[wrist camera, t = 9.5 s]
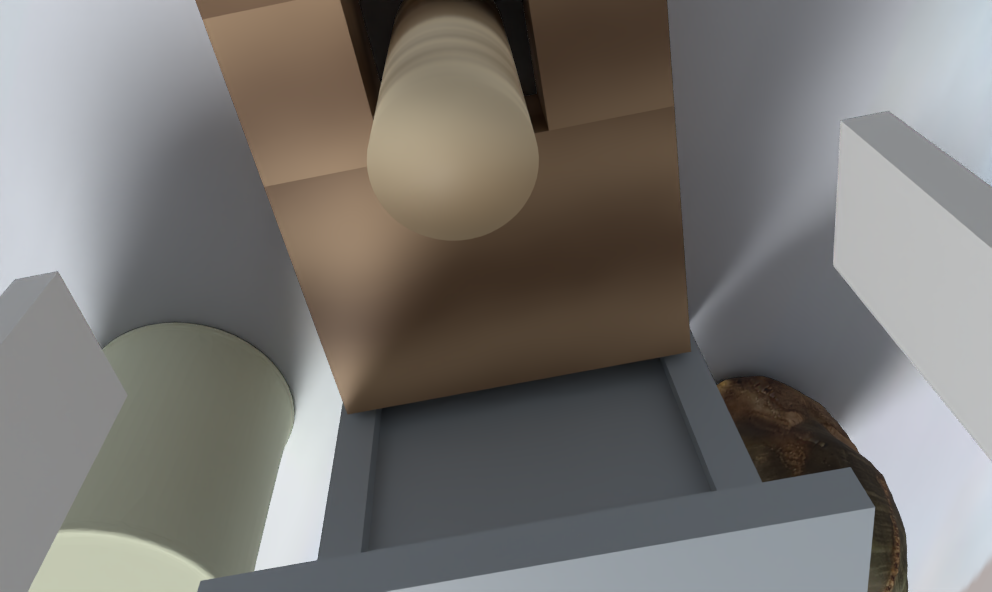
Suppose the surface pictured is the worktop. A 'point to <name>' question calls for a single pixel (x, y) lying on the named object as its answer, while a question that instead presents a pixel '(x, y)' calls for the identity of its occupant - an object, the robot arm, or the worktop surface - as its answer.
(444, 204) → the peg
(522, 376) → the socket block
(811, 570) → the grey open drawer
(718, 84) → the worktop surface
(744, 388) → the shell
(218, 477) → the can
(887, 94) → the worktop surface
